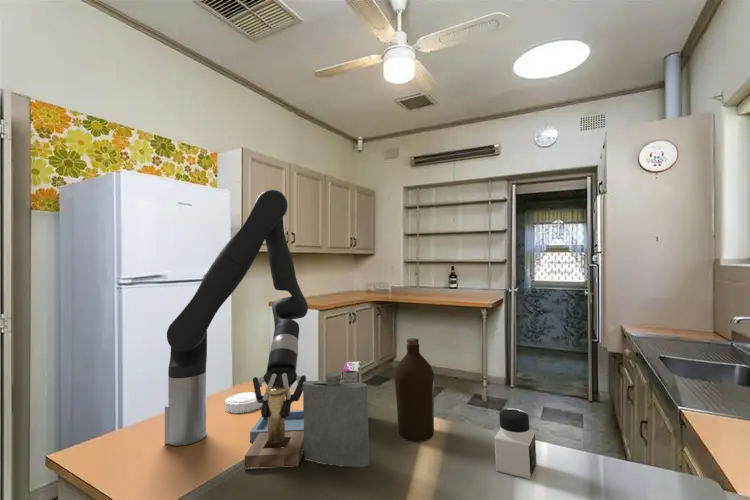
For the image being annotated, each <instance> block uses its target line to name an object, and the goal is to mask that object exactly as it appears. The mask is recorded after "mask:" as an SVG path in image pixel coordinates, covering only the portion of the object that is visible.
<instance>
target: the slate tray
mask: <svg viewBox="0 0 750 500" xmlns="http://www.w3.org/2000/svg"><path fill="white" fill-rule="evenodd" d="M290 431H304V414H303V409H302V410H290V415H289V416H287V419H285V432H290ZM259 433H268V419H267V420H264V418H263V417H262V415H261V416H260V417H259V419H258V420H257V422H256V423H255V424H254V426H253V427H252V429H251V430H250V432H249V442H250V443H253V442H254V441H255V439H256V437H257V436H258V434H259Z"/></svg>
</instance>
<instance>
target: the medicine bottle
mask: <svg viewBox="0 0 750 500" xmlns="http://www.w3.org/2000/svg"><path fill="white" fill-rule="evenodd" d="M498 417H499V430H498V432H497V433H496V435H495V436H494V451H495V470H496V472H500V473H503V474H508V475H512V476H515V477H519V478H523V479H527V480H532V478H533V475H534V472H535V469H536V466H537V465H538V464H537V463H538V462H537V449H536V432H535V431H534V430H530V417H529V414H528V413H527V412H526V411H524V410H522V409H518V408H512V407H509V408H508V407H507V408H504V409H502V410H500V411H499V416H498Z"/></svg>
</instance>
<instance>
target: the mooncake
mask: <svg viewBox="0 0 750 500" xmlns="http://www.w3.org/2000/svg"><path fill="white" fill-rule="evenodd" d="M261 395H262V396H263V394H262V393H261ZM224 402H225V403H224V411H225V410H227V411H226V412H227V413H230V412H231V413H230V414H245V413H250V412H254V411H256V410H258V409H259V410H260V409H261V408H262V403H258V402H257V399H256V395H255V391H254V392H252V391H250V392H249V391H245V392H239V393H236V394H232V395H231V396H228V397H227V398H226V399H225V400H224ZM234 412H235V413H234ZM244 412H245V413H244Z"/></svg>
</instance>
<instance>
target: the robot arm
mask: <svg viewBox="0 0 750 500" xmlns="http://www.w3.org/2000/svg"><path fill="white" fill-rule="evenodd" d="M254 202H255V203H254V204H253V206H252V209H251V210H250V213H248V216H247V218H246V220H245V221H244V222H243V224H242V225H241V227H240V228H239V229H238V230H237V232H236V233H235V234H233V236H231V238H230V239H229V240H228V242H227V243H226V244H225V246H224V247H223V248H222V249H221V250H220V252H219V253H218V255H217V256H216V258H215V260H213V262H212V264H211V266H210V267H209V268H208V270H207V272H206V274H205V275H204V277H203V279H202V280H201V282H200V284H199V286H198V288H197V290H196V292H195V294H194V295H193V296H192V298H191V299H190V300H189V302H188V303H187V304H186V306H185V307H184V308H183V309H182V311H181V312H180V313H179V315H177V317H176V318H175V319H173V321H172V322H171V323H170V324H169V326H168V329H167V331H166V340H167V343H168V345H169V346H170V358H169V363H168V374H167V375H168V378H167V379H168V383H167V384H168V386H167V387H168V389H167V390H168V393H167V395H168V397H167V398H168V399H167V403H168V404H166V405H165V407H164V444H166V445H170V446H177V447H178V446H186V445H190V444H194V443H197V442H199V441H201V440H202V439H204V438H205V437H206V435H207V361H208V352H207V351H208V328H209V327H210V325H211V324H212V321H213V320H214V318H215V316H216V314H217V312H218V311H219V309H220V308H221V306H222V305H223V304H224V303H225V302H226V301H227V300H228V299H229V297H230V296H231V295H232V294H233V293H234V291H235V290H236V289H237V288H238V286H239V285H240V284H241V282H242V280H244V278H245V276H246V275H247V273H248V272H249V270H250V268H251V266H252V265H253V263H254V261H255V260H256V258H257V256H258V255H259V252H260V250H261V248H262V246H263V244H264V242H265V245H266V251H267V256H268V263H269V269H270V274H271V279H272V283H273V288H274V290H276V291H285V292H287V293H289V294H290V295H291V296H286V297H281V298H277V299H275V301H273V303H272V305H271V310H272V314H273V315H272V316H273V323H274V331H273V336H272V342H271V344H270V348H269V349H270V350H269V355H268V361H267V367H266V372H265V373H264V374H263V376H262V377H259V378H258V377H257V376H255V377H253V378H252V384H253V388H254V392H255V395H256V399H257V402H258V403H262V407H261V408H260V409H261V410H260V415H261V416H262V417H263V418H264V420H267V419H268V395H267V394H266V391H265V393H264V395H263V394H262V391H261V388H262V387H263V386H264V385H263V384H264V383H265V384H266V388H265V390H266V389H267V388H269V387H273V386H285V387H286V393H285V401H284V408H283V419H287V416H289V415H290V411H291V407H292V403H293V402H299V400H300V398H301V396H302V395H303V383H304V382H306V381H307V377H306V375H304V374H303V375H301V376H300V375H297V366H298V365H297V363H298V357H299V336H300V325H299V323H298V322H297V321H296V320H298V319H301V318H304V317H305V316H306V315H307V313H308V310H309V305H308V301H307V300H306V298H305V296H304V294H303V292H302V290H301V288H300V285H299V283H298V281H297V280H298V279H297V276H296V275H297V274H296V270H295V266H294V261H293V258H292V254H291V251H290V248H289V246H288V242H287V239H286V234H285V228H284V226H285V225H284V217H285V215H286V213H287V211H288V200H287V198H286V196H285V195H284V194H283V193H282V192H281V191H279V190H277V189H269V190H265V191H263V192H261V193H260V194H259V195H258V197H257V198H256V200H255V201H254ZM295 382H296V384H297V386H296V388H295V390H294V391H293V394H292V393H291V390H290V388H291V387H292V386H293V385H294V383H295ZM261 394H262V395H261Z"/></svg>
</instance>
